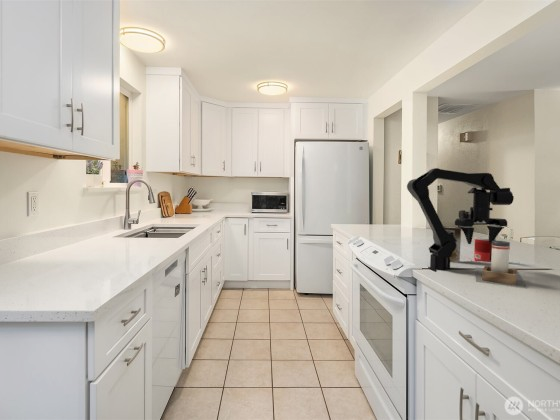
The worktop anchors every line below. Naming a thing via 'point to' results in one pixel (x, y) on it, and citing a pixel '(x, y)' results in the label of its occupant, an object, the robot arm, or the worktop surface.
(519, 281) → the rubber mat
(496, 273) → the wooden tray
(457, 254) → the coffee box
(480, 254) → the canned food
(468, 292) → the worktop surface
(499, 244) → the white lens
